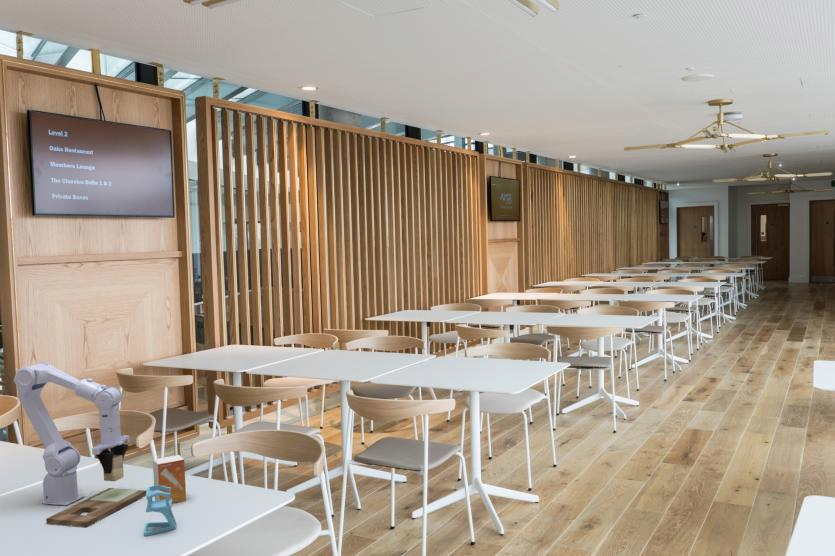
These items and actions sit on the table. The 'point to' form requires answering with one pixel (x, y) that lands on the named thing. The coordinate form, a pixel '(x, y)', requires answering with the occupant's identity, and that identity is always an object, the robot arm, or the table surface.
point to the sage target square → (114, 495)
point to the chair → (159, 509)
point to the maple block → (115, 469)
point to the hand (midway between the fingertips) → (113, 470)
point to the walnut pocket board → (91, 510)
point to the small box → (170, 477)
